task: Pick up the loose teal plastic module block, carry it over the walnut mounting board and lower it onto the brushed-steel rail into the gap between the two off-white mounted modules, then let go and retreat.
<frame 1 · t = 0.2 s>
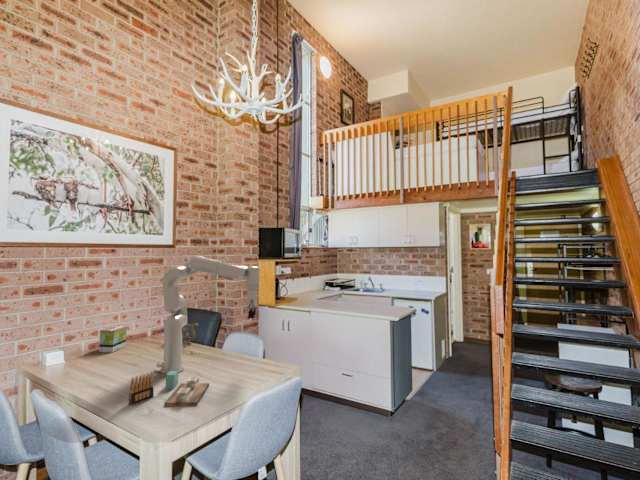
hand: (252, 316, 200), 31 cm above the table, tool pointing down, fingers open, 9 cm apart
teal module: (171, 386, 172), on the table
tea box: (112, 349, 234), on the table
tankard: (184, 342, 254), on the table
ammunition clip: (141, 401, 156), on the table
rail board: (188, 395, 162), on the table
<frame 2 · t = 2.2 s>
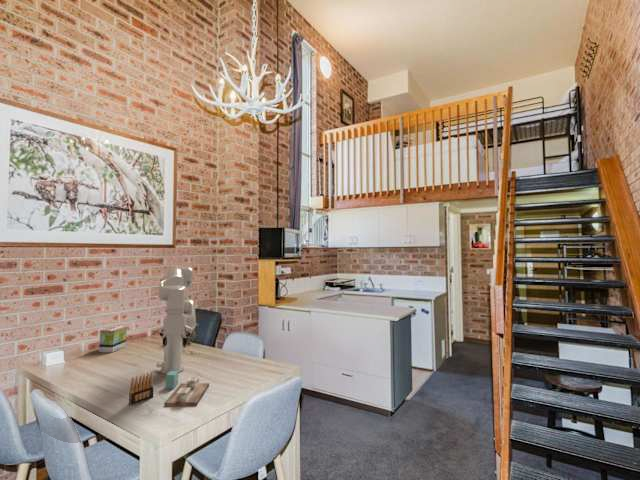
hand: (174, 345, 173), 21 cm above the table, tool pointing down, fingers open, 9 cm apart
nothing on the table moved.
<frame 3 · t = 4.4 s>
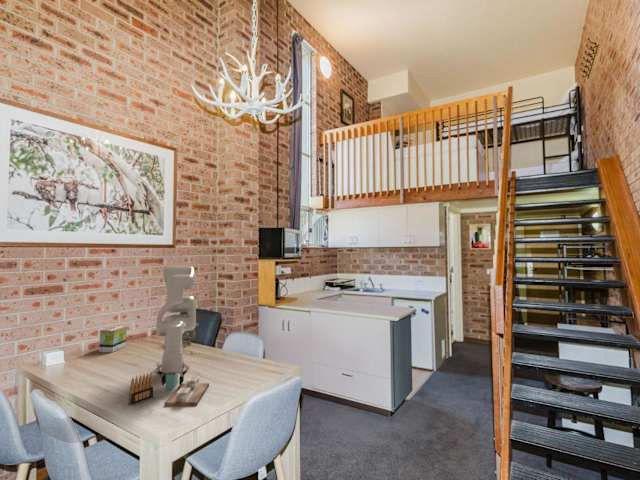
hand: (172, 383, 172), 2 cm above the table, tool pointing down, fingers open, 7 cm apart
nothing on the table moved.
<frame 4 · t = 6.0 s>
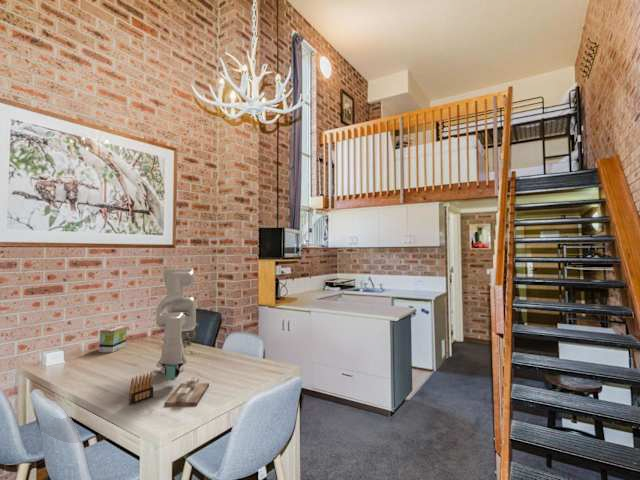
hand: (172, 375, 173), 5 cm above the table, tool pointing down, fingers closed on teal module, 4 cm apart
teal module: (172, 378, 174), point 4 cm above the table, touching gripper
everything else where it was.
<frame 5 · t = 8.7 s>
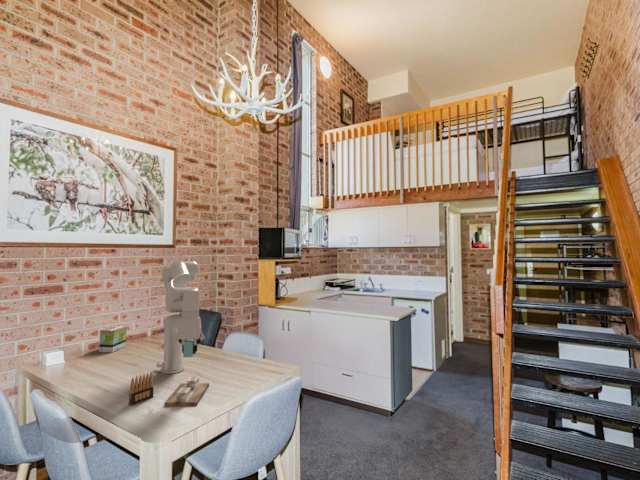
hand: (189, 352, 163), 20 cm above the table, tool pointing down, fingers closed on teal module, 4 cm apart
teal module: (189, 355, 163), point 19 cm above the table, touching gripper
everything else where it was.
when the fingers open (3 cm above the table, at t = 11.9 s): teal module stays where it is, resting on rail board.
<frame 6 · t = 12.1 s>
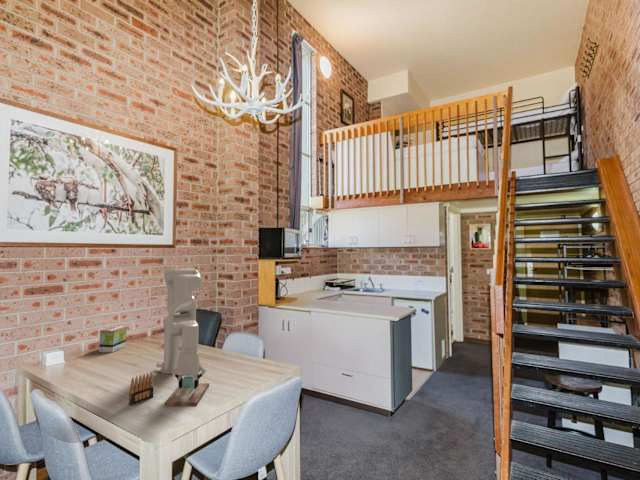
hand: (188, 387, 162), 4 cm above the table, tool pointing down, fingers open, 6 cm apart
teal module: (188, 391, 162), point 2 cm above the table, touching rail board
everything else where it was.
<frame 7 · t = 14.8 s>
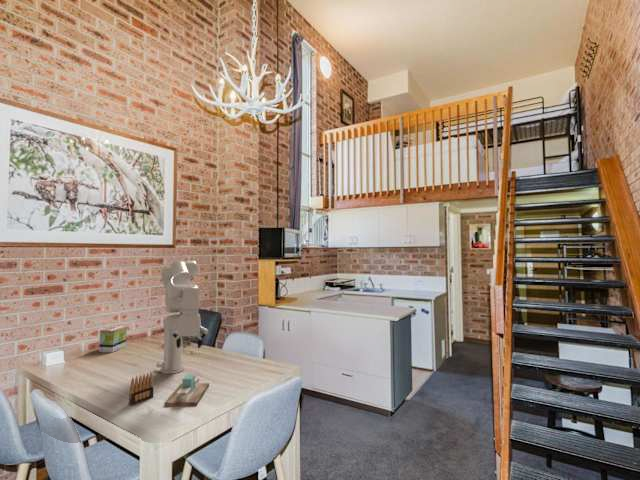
hand: (189, 347, 164), 22 cm above the table, tool pointing down, fingers open, 9 cm apart
nothing on the table moved.
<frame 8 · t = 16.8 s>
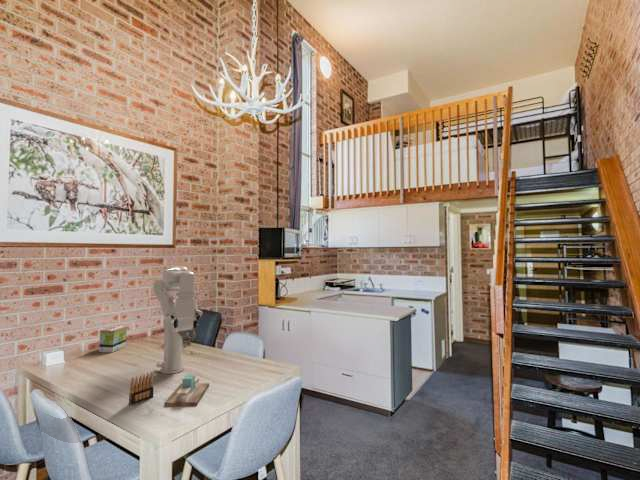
hand: (185, 327, 180), 28 cm above the table, tool pointing down, fingers open, 9 cm apart
nothing on the table moved.
at the end: teal module 0.3 cm off-centre on the rail board, point 1.8 cm above the rail board's base; teal module tilted 0°; the gripper is holding nothing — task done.
